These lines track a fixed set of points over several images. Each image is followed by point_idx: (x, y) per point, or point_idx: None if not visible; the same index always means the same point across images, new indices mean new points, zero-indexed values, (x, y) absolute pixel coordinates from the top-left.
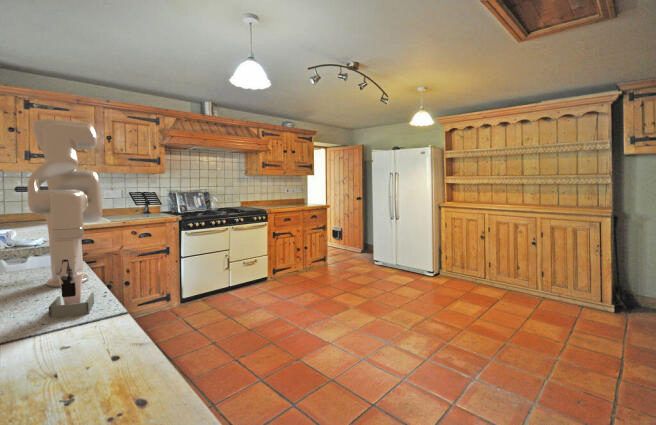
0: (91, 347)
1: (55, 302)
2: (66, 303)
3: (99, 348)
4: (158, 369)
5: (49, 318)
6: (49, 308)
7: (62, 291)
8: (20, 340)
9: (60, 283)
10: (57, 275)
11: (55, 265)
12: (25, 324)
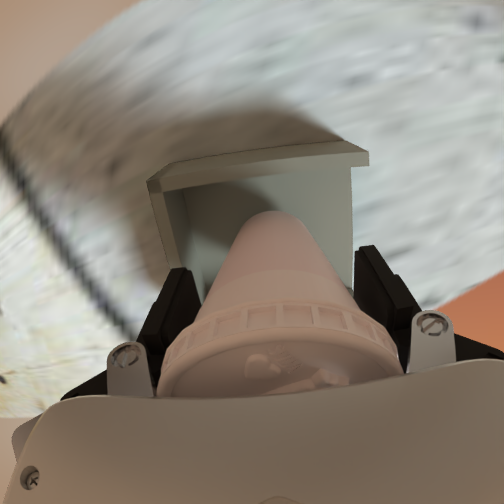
0: (9, 349)
1: (246, 177)
2: (235, 238)
3: (11, 361)
4: (3, 410)
5: (168, 165)
6: (149, 183)
7: (163, 295)
8: (2, 170)
9: (210, 303)
10: (232, 337)
11: (6, 499)
12: (124, 85)
